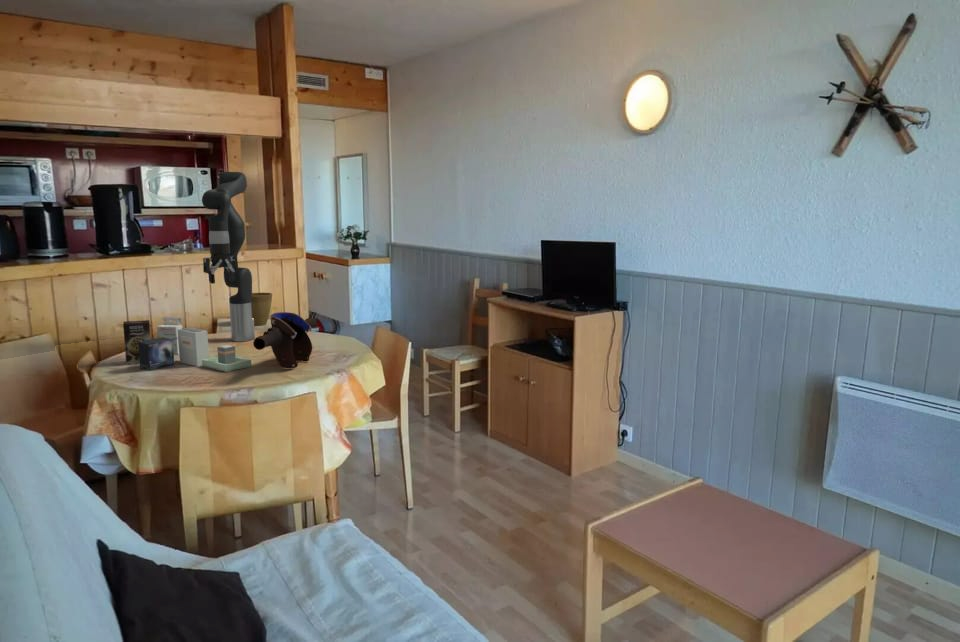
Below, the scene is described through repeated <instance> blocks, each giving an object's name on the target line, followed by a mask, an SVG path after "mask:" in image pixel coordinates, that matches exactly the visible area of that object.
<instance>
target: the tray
mask: <svg viewBox="0 0 960 642" xmlns="http://www.w3.org/2000/svg"><path fill="white" fill-rule="evenodd" d="M201 367H204V368H207V369H211V370H216V371H220V372H224V373H229V372H233V371H237V370H241V369H246V368H250V367H252V359H249V358H245V357H240V356H236V362H235V363H231V364H222V363H218V356H214V357H209V358H208V359H203V360H202V365H201Z"/></svg>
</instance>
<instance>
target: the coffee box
mask: <svg viewBox="0 0 960 642" xmlns="http://www.w3.org/2000/svg"><path fill="white" fill-rule="evenodd" d="M150 323H151V322H150V320H128V321H123V322H122V325H123V327H122V328H123V339H124V350H125V351H124V352H125V354H124V355H125V364H127V365H128V364H130V365H140V360H139V344H138V342H139V341H145V340H151V328H150V327H151V326H150V325H151V324H150Z"/></svg>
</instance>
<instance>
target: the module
mask: <svg viewBox="0 0 960 642" xmlns="http://www.w3.org/2000/svg"><path fill="white" fill-rule="evenodd" d="M216 351H217V357H218V363H222V364H231V363H235V362H236V357H237V356H236V346H234V345H228V344H227V345H220V346H217V350H216Z"/></svg>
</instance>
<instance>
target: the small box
mask: <svg viewBox="0 0 960 642" xmlns="http://www.w3.org/2000/svg"><path fill="white" fill-rule="evenodd" d="M138 344H139V360H140V364H139V369H141V370H146V371H148V372H149V371H155V370H158V369H163V368H169V367H173V366H176V365H175V355H174V349H173V339H168V338H165V337H163V338H158V337H157V338H153V339H151V340H145V341H139V342H138Z"/></svg>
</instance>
